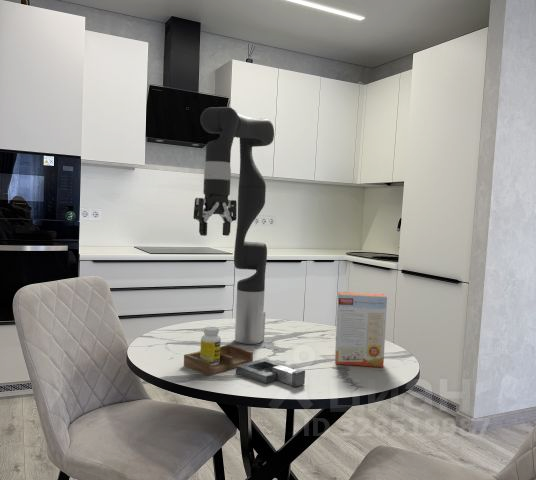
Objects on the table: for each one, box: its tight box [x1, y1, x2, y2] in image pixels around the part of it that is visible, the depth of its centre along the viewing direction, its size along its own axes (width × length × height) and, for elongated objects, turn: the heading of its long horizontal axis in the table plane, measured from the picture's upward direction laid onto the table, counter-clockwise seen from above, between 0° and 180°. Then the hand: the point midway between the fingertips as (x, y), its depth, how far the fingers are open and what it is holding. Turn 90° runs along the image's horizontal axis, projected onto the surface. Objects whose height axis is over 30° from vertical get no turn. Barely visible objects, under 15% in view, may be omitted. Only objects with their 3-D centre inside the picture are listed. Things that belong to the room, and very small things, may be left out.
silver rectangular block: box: [271, 365, 306, 388], centre depth 130 cm, size 4×8×4 cm, turn 48°
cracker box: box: [334, 291, 388, 368], centre depth 149 cm, size 14×6×21 cm, turn 84°
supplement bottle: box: [199, 326, 222, 366], centre depth 138 cm, size 5×5×10 cm
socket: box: [235, 358, 295, 385], centre depth 135 cm, size 11×11×2 cm
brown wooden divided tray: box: [183, 344, 254, 376], centre depth 142 cm, size 17×10×3 cm, turn 137°
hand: (214, 235), depth 144 cm, fingers open, 8 cm apart
